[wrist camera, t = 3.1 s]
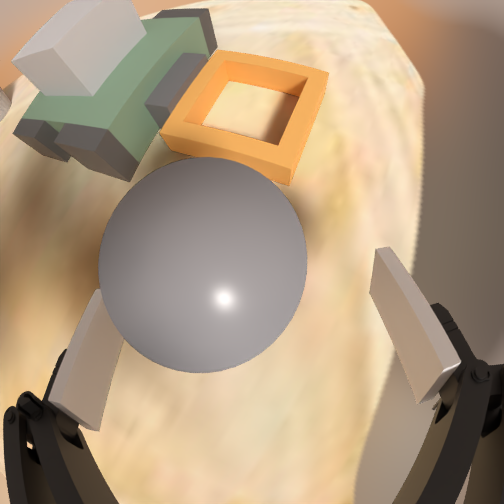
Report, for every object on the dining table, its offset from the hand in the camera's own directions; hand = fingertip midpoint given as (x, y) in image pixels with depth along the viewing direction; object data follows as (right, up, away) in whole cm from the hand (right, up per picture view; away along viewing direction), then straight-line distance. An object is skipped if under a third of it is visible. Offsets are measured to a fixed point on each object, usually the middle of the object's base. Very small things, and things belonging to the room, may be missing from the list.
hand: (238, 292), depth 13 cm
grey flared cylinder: (0, -1, +8) cm, 8 cm away
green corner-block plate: (-8, +17, +11) cm, 22 cm away
